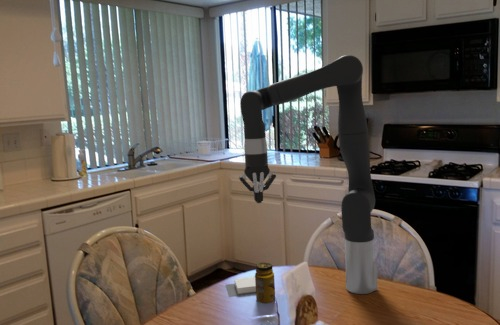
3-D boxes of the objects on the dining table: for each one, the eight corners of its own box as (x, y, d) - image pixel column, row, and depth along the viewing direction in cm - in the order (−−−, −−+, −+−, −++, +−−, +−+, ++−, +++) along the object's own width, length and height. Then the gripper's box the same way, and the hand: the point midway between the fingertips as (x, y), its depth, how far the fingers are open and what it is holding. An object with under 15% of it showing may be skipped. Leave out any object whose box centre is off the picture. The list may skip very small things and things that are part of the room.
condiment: (281, 301, 146) (279, 265, 144) (259, 309, 142) (256, 272, 140) (267, 294, 152) (265, 259, 150) (246, 301, 148) (243, 265, 146)
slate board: (262, 281, 162) (262, 280, 162) (268, 293, 152) (268, 291, 152) (225, 286, 160) (225, 284, 160) (229, 298, 150) (228, 296, 150)
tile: (234, 284, 159) (257, 282, 161) (237, 294, 152) (261, 291, 153) (234, 278, 159) (257, 276, 160) (237, 288, 151) (261, 285, 153)
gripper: (273, 148, 158) (275, 198, 160) (234, 151, 156) (237, 202, 158) (277, 151, 151) (280, 203, 153) (237, 154, 149) (241, 207, 151)
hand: (258, 202), depth 156 cm, fingers closed
